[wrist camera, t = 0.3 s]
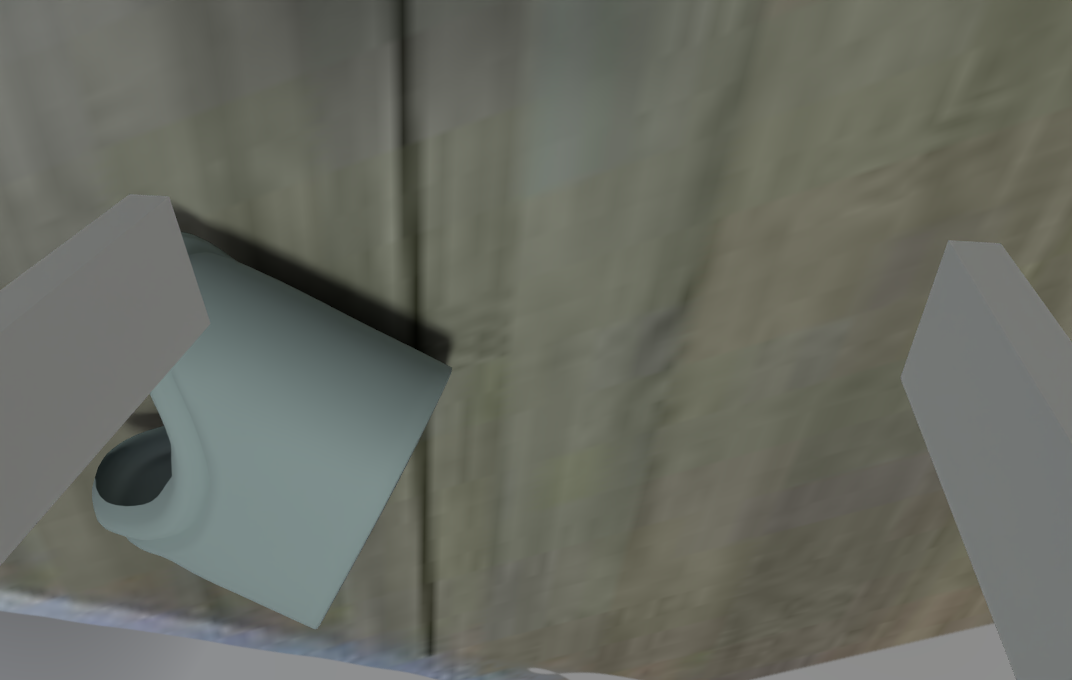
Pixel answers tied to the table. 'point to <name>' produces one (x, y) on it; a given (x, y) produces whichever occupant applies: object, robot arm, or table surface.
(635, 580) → the table surface
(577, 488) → the table surface
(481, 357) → the table surface
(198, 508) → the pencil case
